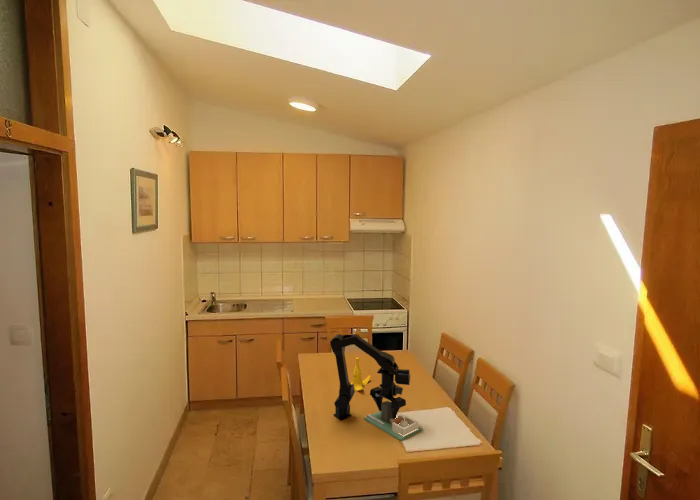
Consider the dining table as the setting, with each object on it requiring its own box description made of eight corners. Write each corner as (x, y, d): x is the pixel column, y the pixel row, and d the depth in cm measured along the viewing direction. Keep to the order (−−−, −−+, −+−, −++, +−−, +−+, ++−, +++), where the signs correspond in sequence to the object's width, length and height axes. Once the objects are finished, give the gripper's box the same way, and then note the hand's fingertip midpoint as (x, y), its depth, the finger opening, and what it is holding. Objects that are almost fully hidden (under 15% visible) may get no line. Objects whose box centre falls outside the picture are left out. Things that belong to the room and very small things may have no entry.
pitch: (400, 441, 179) (400, 431, 179) (364, 419, 198) (364, 410, 197) (422, 430, 188) (422, 421, 187) (385, 410, 206) (385, 402, 206)
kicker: (393, 428, 188) (393, 411, 187) (379, 420, 195) (379, 403, 194) (402, 423, 192) (403, 407, 191) (388, 416, 199) (388, 399, 198)
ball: (397, 420, 187) (397, 428, 188) (404, 424, 184) (403, 432, 184) (403, 417, 190) (403, 425, 190) (410, 421, 186) (410, 429, 187)
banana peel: (362, 395, 224) (362, 364, 222) (338, 384, 238) (338, 356, 236) (382, 385, 236) (382, 357, 234) (358, 376, 249) (358, 349, 247)
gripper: (414, 384, 191) (413, 416, 193) (386, 372, 206) (385, 402, 207) (397, 391, 184) (396, 424, 186) (369, 377, 199) (369, 409, 200)
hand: (387, 414), depth 195 cm, fingers open, 9 cm apart
